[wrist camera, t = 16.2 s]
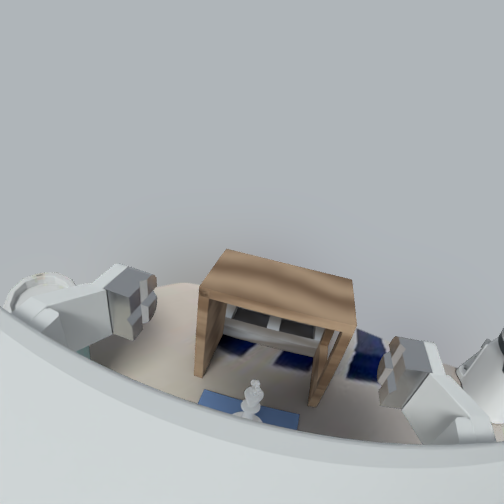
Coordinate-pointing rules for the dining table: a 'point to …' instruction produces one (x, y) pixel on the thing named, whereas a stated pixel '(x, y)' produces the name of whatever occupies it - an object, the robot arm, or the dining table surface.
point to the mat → (234, 406)
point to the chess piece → (251, 402)
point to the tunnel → (276, 312)
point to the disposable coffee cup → (36, 287)
